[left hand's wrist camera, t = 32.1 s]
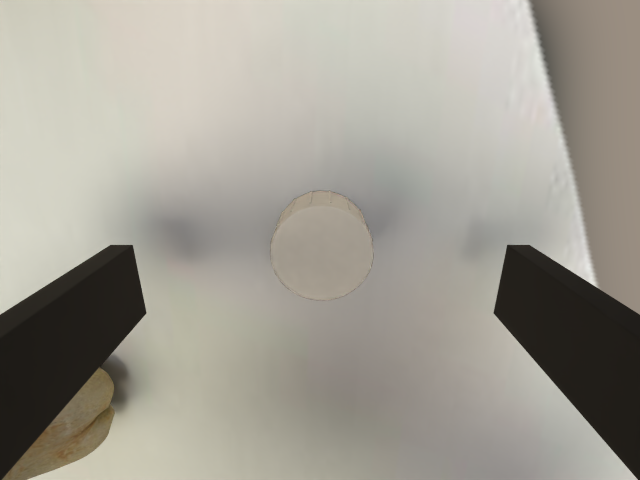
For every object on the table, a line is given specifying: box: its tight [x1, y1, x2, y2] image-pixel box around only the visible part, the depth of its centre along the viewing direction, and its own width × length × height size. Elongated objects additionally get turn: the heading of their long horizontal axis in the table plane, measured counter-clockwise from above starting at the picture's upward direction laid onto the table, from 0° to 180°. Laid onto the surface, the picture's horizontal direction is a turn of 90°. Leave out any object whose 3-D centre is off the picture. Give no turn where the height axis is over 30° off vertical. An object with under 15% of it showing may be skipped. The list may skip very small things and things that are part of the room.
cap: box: [270, 191, 373, 300], centre depth 15 cm, size 4×4×2 cm
